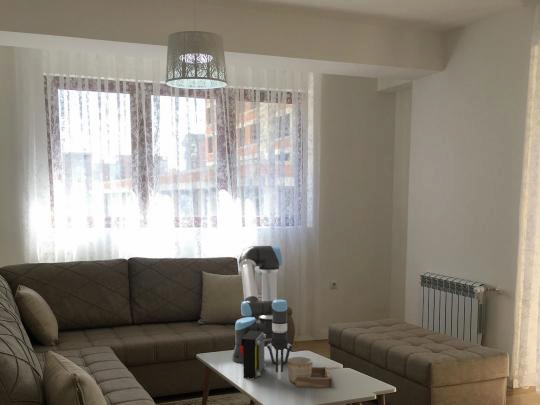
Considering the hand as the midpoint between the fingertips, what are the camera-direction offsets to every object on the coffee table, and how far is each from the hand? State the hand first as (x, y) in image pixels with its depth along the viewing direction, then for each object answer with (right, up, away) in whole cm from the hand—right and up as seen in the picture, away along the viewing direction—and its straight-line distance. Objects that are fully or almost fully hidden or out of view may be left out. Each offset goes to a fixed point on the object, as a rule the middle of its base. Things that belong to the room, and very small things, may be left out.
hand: (279, 378), depth 272 cm
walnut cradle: (+16, -2, +2) cm, 16 cm away
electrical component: (-13, -2, +14) cm, 20 cm away
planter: (+10, -2, +1) cm, 11 cm away
